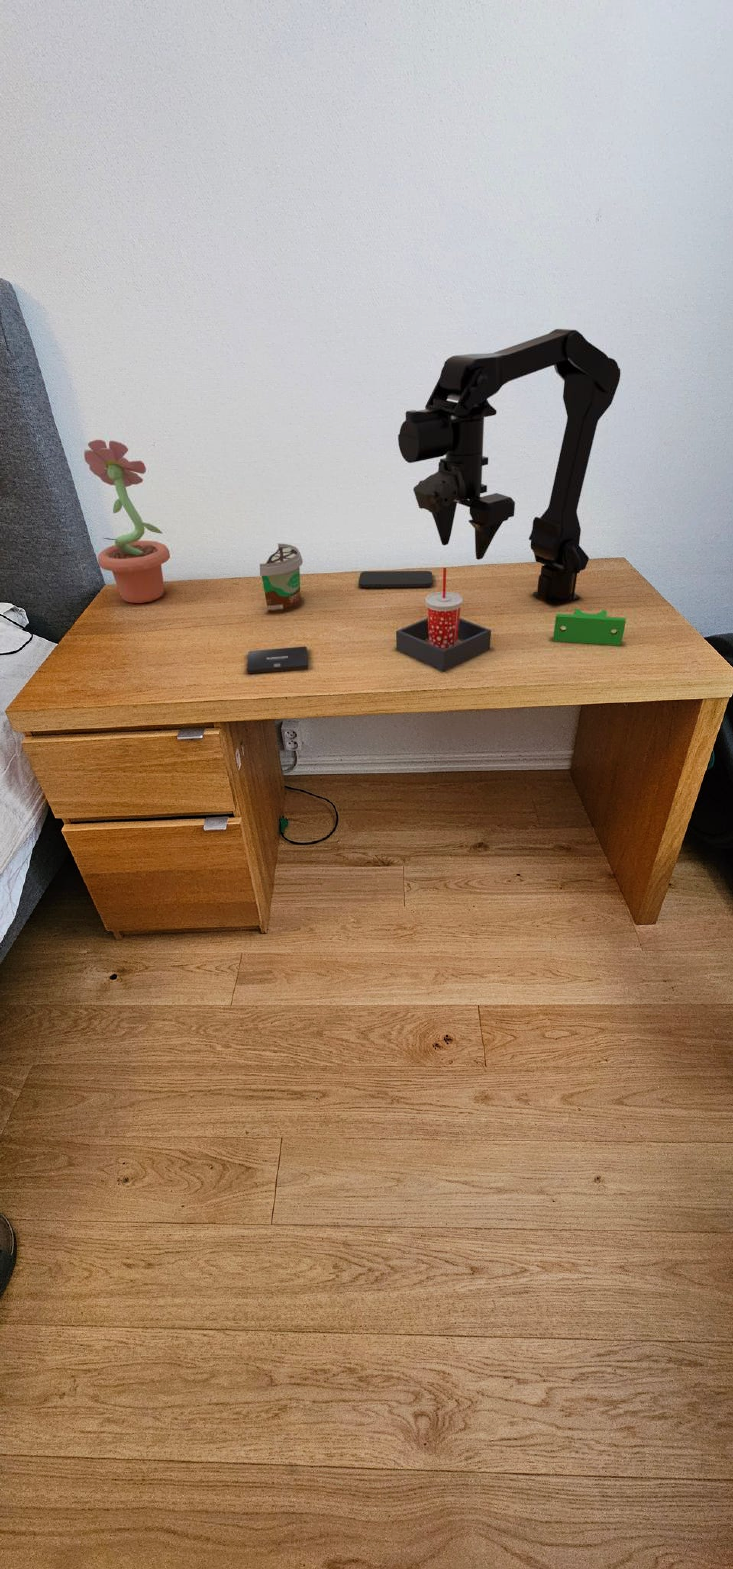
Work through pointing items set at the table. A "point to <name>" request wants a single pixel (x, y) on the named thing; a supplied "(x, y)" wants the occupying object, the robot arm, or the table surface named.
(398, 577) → the phone
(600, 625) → the pipe clamp
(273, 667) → the solid state drive
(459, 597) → the beverage cup
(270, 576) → the food container
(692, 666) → the table surface
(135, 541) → the decorative flower
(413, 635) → the box
